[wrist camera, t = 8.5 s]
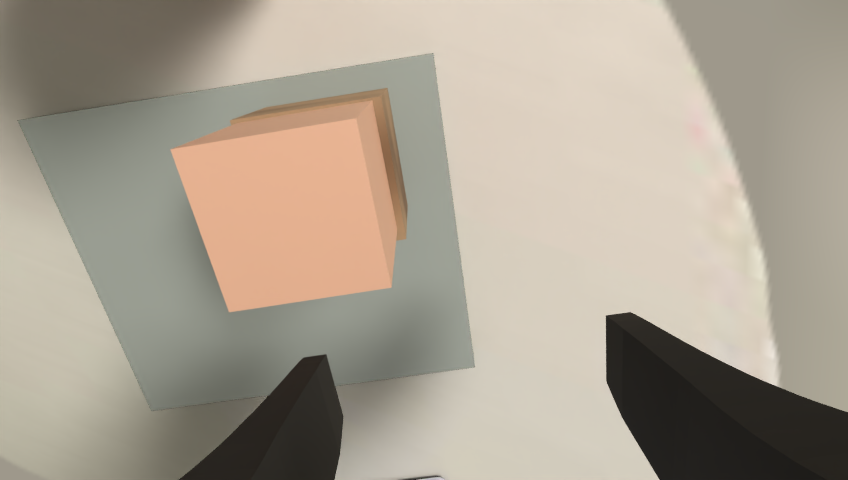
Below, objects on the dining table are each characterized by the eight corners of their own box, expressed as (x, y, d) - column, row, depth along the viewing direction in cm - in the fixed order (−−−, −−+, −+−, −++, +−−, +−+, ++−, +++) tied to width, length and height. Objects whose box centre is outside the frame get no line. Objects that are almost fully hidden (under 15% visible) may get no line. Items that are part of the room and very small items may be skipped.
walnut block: (407, 205, 21) (406, 239, 17) (296, 222, 21) (270, 259, 17) (387, 87, 19) (381, 96, 15) (265, 106, 19) (229, 120, 15)
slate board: (473, 360, 24) (474, 367, 24) (157, 403, 25) (151, 410, 25) (432, 53, 19) (433, 53, 18) (28, 118, 20) (17, 120, 19)
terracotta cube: (397, 229, 17) (391, 287, 13) (274, 248, 17) (229, 312, 13) (372, 100, 15) (356, 117, 11) (236, 123, 15) (170, 149, 11)
